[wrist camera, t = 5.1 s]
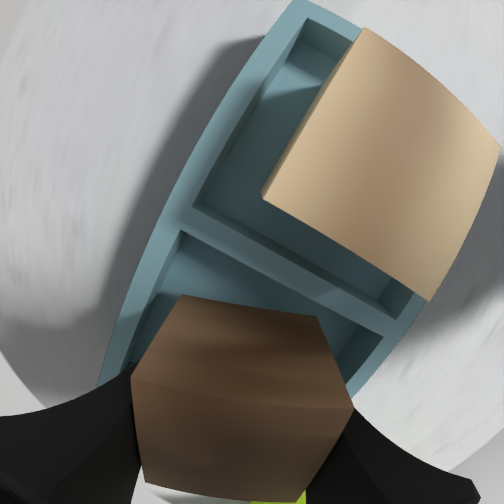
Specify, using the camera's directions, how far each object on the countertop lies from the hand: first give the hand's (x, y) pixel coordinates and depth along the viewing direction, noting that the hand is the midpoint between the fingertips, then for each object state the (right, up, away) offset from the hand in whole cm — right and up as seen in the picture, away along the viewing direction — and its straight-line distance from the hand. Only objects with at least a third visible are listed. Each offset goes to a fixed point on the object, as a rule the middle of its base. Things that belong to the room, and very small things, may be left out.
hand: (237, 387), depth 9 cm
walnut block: (0, 0, +1) cm, 2 cm away
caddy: (+2, +5, +3) cm, 6 cm away
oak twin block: (+4, +8, +1) cm, 9 cm away
